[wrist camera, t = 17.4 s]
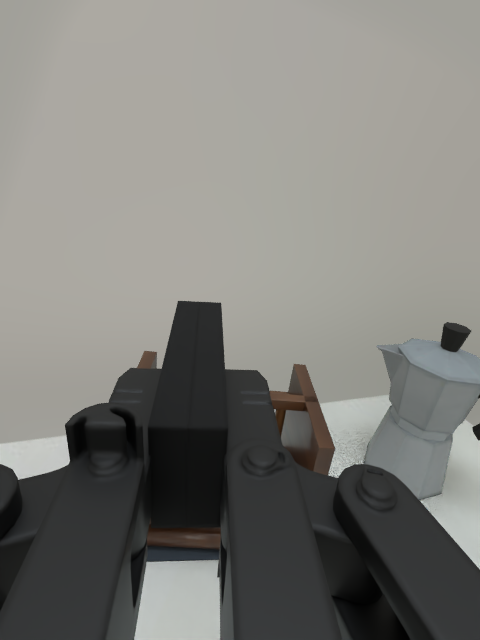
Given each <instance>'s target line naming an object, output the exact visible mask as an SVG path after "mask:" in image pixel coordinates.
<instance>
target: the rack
mask: <svg viewBox="0 0 480 640" xmlns="http://www.w3.org/2000/svg"><path fill="white" fill-rule="evenodd" d="M156 364H157V352H150V351H144V353H143V356H142V358H141V360H140V362H139V365H138V367H137V368H148V369H156ZM269 392H270V396H271V400H272V405H273V408H274V409H276V411H275V416H276V420H277V425H278V429H279V433H280V437H281V441H282V445H283V447H285V448H286V449H287V450H288V451H289V452H290V453H291V455H292V457H293V459H294V461H295V462H296V463H297V464H299V465H301V466H302V467H304V468H306V469H308V470H311V471H314V472H317V473H320V474H324V475H328V472H329V469H330V465H331V462H332V458H333V454H334V451H335V447H334V444H333V441H332V438H331V436H330V433H329V430H328V427H327V424H326V422H325V419H324V416H323V413H322V410H321V408H320V405H319V402H318V399H317V396H316V393H315V391H314V388H313V385H312V382H311V379H310V377H309V374H308V371H307V369H306V366H305V365H299V364H294V366H293V371H292V376H291V381H290V386H289V391H288V392H280V391H269ZM220 539H221V527H220V528H151V518H150V524H149V529H148V535H147V546H165V547H184V548H202V549H220Z"/></svg>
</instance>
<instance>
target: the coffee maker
mask: <svg viewBox="0 0 480 640" xmlns="http://www.w3.org/2000/svg"><path fill="white" fill-rule="evenodd" d="M470 332H471V330H469V329H468V328H467V327H465V326H462V325H459V324H457V323H449V322H447V323H445V324H444V327H443V333H442V339H441V342H436V341H428V340H420V339H410V340H409V341H407V342H405V343H403V344H394V345H377V348H378V349H380V350H381V351H382V353H383V356H384V360H385V364H386V367H387V370H388V374H389V378H390V381H391V387H390V395H389V400H390V401H391V403H392V406H390V408H389V409H388V411H387V413H386V415H385V416H384V418H383V420H382V421H381V423H380V425H379V427H378V428H377V430H376V432H375V434H374V435H373V437H372V439H371V440H370V442H369V444H368V446H367V451H366V456H365V461H364V464H368V465H372V466H376V467H380V468H382V469H384V470H386V471H388V472H390V473H392V474H394V475H395V476H396V477H397V478H398V479H400V480H401V481H402V482H403V483H404V484H405V485H406V486H407V487H408V488H409V489H410V490H411V492H412V493H413V494H414V495H415V496H416V497H417V498H418V500H421V499H424V498H428V497H431V496H435V495H438V494H441V492H442V487H443V483H444V478H445V473H446V469H447V464H448V460H449V455H450V450H451V446H452V441H453V437H452V434H453V432H454V431H455V429H456V428H457V426H459V425H460V424H461V423H462V422H463V421H464V419H465V418H466V416H467V415H468V414H469V412H470V411H471V409H472V408H473V406H474V405H475V403H476V402H477V400H478V399H479V398H480V359H479V358H478V357H477V356H476V355H473V354H471V353H468V352H466V351H463V350H461V349H460V347H461V346H462V344H463V343H464V341H465V340H466V338H467V337H468V335H469V334H470ZM472 428H473V432H474V434H475V436H476V437H477V439H478V440H480V424H478V425H476V426H474V427H472Z"/></svg>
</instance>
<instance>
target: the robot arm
mask: <svg viewBox="0 0 480 640" xmlns="http://www.w3.org/2000/svg"><path fill="white" fill-rule="evenodd" d="M65 428H66V435H67V442H68V449H69V456H70V463H69V465H67V466H65V467H63V468H61V469H59V470H56V471H52V472H49V473H46V474H42V475H37V476H33V477H29V478H25V479H20V480H18V478H17V476H16V475H15V473H14V471H13V470H12V469H11V468H8V467H6V466H4V465H2V464H0V640H134V636H135V630H136V624H137V618H138V612H139V605H140V599H141V593H142V587H143V581H144V574H145V568H146V562H147V556H148V552H147V535H148V529H149V524H150V518H151V528H220V527H221V539H220V551H219V564H218V576H217V577H220V640H480V570H479V568H478V567H477V566H476V565H475V564H474V563H473V562H472V560H471V559H470V558H469V557H468V556H467V555H466V553H465V552H464V551H463V550H462V549H461V548H460V547H459V545H458V544H457V543H456V542H455V541H454V540H453V539H452V537H451V536H450V535H449V534H448V533H447V532H446V531H445V529H444V528H443V527H442V526H441V525H440V524H439V523H438V521H437V520H436V519H435V518H434V517H433V516H432V514H431V513H430V512H429V511H428V510H427V509H426V508H425V506H424V505H423V504H422V503H421V502H420V501H419V500H418V498H417V497H416V496H415V495H414V494H413V493H412V492H411V490H410V489H409V488H408V487H407V486H406V485H405V484H404V483H403V482H402V481H401V480H400V479H398V478H397V477H396V476H395V475H394V474H392V473H390V472H388V471H386V470H384V469H382V468H380V467H376V466H372V465H368V464H358V465H352V466H350V467H348V468H346V469H344V471H343V472H342V473H341V475H340V476H339V478H335V477H331V476H328V475H324V474H320V473H317V472H314V471H311V470H308V469H306V468H304V467H302V466H301V465H299V464H297V463H296V462H295V461H294V459H293V457H292V455H291V453H290V452H289V451H288V450H287V449H286V448H285V447H283V445H282V441H281V437H280V433H279V429H278V425H277V420H276V416H275V412H274V408H273V405H272V400H271V396H270V392H269V387H268V384H267V380H265V378H264V377H263V376H262V375H261V374H260V373H259V372H258V371H257V370H226V369H225V363H224V346H223V328H222V311H221V303H211V302H191V301H178V304H177V308H176V313H175V316H174V320H173V324H172V329H171V333H170V337H169V341H168V345H167V349H166V353H165V358H164V362H163V366H162V369H148V368H130V369H129V370H128V371H127V372H125V373H124V374H123V375H122V376H121V377H119V379H118V381H117V383H116V386H115V388H114V390H113V393H112V395H111V397H110V399H109V403H101V404H97V405H94V406H90V407H88V408H85V409H83V410H81V411H80V412H78V413H76V414H75V415H73V416H72V417H71V418H70V420H69V421H68V422H67V423H66V424H65Z"/></svg>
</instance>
